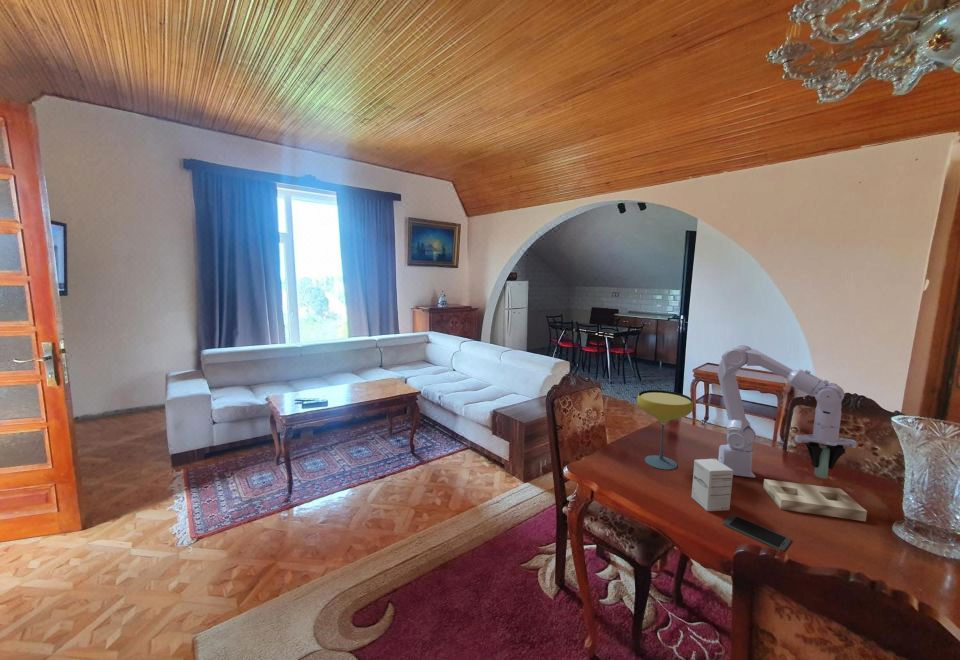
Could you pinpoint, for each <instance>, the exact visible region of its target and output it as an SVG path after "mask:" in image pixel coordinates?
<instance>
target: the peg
mask: <svg viewBox="0 0 960 660" xmlns="http://www.w3.org/2000/svg"><path fill="white" fill-rule="evenodd" d="M820 448H822V449H823V450H822V452H821V455H820V458H819V466H818V468H816V467H814V473H813V475H814V476H815V477H817V478H819V479H828V476H829V468H828V467H829V458H830V448H828V447H826V445H820Z"/></svg>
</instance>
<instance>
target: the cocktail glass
mask: <svg viewBox="0 0 960 660" xmlns="http://www.w3.org/2000/svg"><path fill="white" fill-rule="evenodd" d="M636 400H637V401H636V402H637V405H638V407H639V408H640V409H641V410H642V411H643V412H645V413H646V414H648V415H650V416H651V417H654V418H655V419H657V421H658V422H659V423H660V424H661V438H660V447H659V448H660V449H659V450H660V451H659V455H656V454H653V455H647V456H646V457H645V458H644V461H645V463H646V464H647V465H648V466H650V467H652V468H654V467H655V469H657V468H658V470H662V469H663V470H665V471H671V469H672V470H675V469H677V468H678V464H677V462H676V461H674V460H673V459H672V458H670V457H666V456H664V453H663V452H664V451H663V450H664V431H665V425H667V424H668V423H669V422H670V421H673V420H676V419H681V418H684V417H686V416H689V415H690V414H691V413H692V412H693V409H694V400H693V399H692V398H691V397H690V396H688V395H685V394H683V393H678V392H676V391H669V390H659V389H650V390H643V391H640V392H638V395H637V398H636ZM669 458H670V459H669ZM663 470H662V471H663Z"/></svg>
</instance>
